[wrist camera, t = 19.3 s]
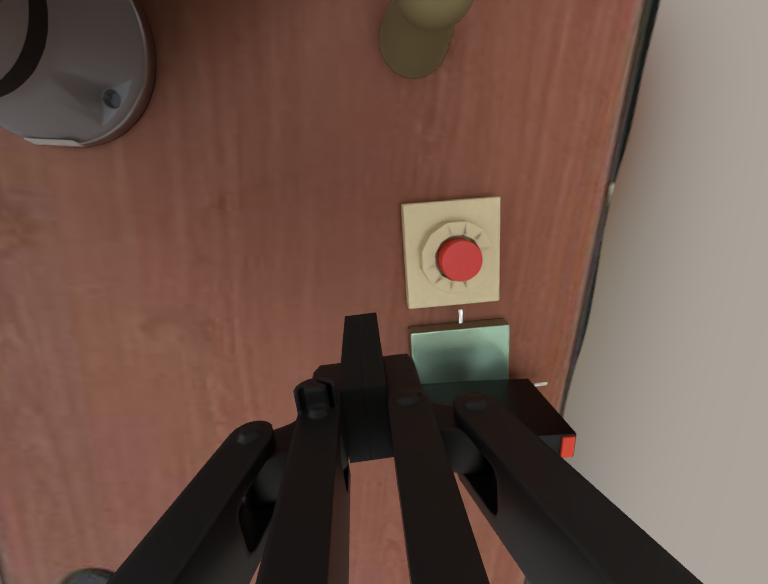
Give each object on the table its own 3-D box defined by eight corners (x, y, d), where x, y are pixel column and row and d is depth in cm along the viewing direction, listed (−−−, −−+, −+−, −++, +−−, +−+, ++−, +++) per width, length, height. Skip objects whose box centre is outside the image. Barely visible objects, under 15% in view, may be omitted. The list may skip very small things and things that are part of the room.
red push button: (436, 239, 33) (440, 242, 31) (476, 236, 33) (482, 238, 31) (438, 278, 34) (442, 283, 32) (476, 275, 34) (483, 279, 32)
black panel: (395, 404, 38) (406, 470, 30) (395, 386, 38) (405, 447, 29) (526, 397, 39) (575, 458, 30) (528, 378, 38) (578, 435, 30)
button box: (400, 203, 35) (405, 205, 31) (494, 196, 35) (508, 197, 32) (406, 303, 38) (411, 315, 34) (493, 296, 38) (506, 306, 35)
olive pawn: (458, 63, 32) (506, 2, 21) (392, 89, 32) (408, 40, 22) (437, -15, 30) (478, -124, 20) (368, 12, 30) (372, -81, 20)
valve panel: (367, 311, 38) (367, 318, 35) (541, 295, 38) (551, 301, 36) (381, 459, 43) (382, 473, 40) (534, 442, 43) (543, 455, 41)
